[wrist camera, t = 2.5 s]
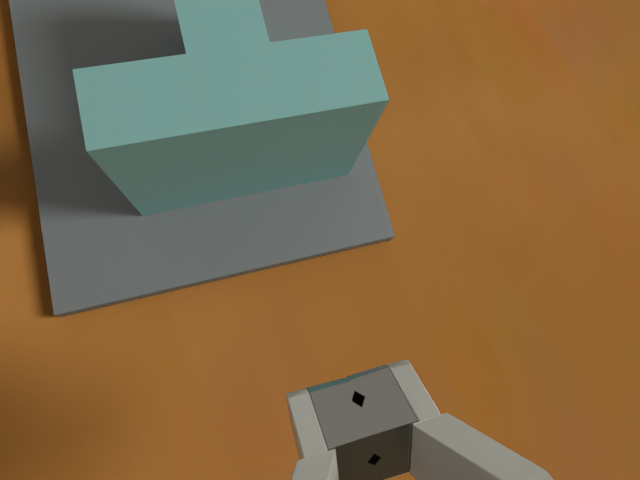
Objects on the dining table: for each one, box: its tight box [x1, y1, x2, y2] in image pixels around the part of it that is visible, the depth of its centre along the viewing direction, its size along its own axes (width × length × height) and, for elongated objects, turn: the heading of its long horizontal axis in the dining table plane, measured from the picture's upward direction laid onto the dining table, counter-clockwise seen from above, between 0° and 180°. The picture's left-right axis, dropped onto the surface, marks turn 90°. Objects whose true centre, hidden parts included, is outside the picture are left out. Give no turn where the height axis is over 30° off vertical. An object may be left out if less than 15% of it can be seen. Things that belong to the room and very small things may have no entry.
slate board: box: [9, 0, 395, 317], centre depth 32 cm, size 22×27×1 cm
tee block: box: [72, 0, 389, 216], centre depth 27 cm, size 14×13×10 cm
